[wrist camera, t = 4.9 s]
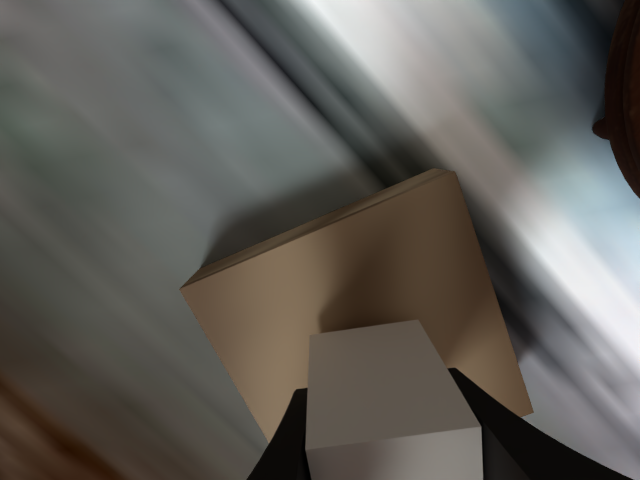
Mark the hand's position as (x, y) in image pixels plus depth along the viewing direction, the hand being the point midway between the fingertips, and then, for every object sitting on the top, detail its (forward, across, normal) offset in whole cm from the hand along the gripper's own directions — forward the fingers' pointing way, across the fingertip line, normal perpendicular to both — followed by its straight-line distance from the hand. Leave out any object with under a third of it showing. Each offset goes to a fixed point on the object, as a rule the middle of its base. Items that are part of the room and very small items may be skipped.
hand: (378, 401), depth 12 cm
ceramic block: (+2, 0, +1) cm, 2 cm away
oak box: (+6, 0, 0) cm, 6 cm away
